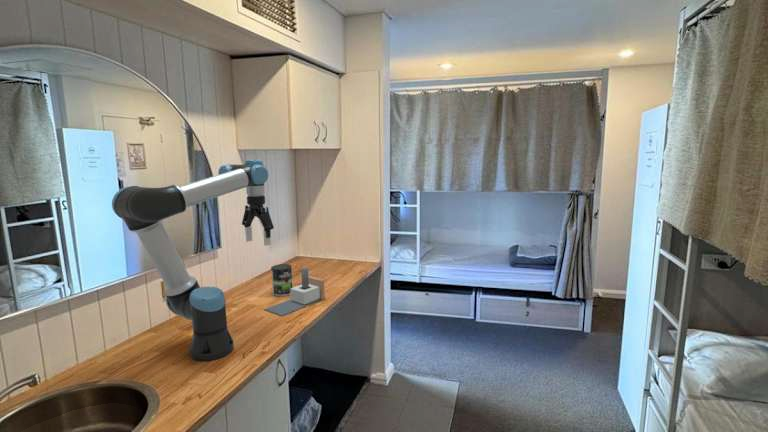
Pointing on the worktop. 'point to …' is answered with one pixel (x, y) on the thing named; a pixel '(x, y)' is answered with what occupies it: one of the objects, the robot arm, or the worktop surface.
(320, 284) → the wall
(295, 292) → the hole block
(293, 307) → the rubber mat
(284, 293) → the coffee can
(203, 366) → the worktop surface
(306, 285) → the dowel
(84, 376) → the worktop surface
